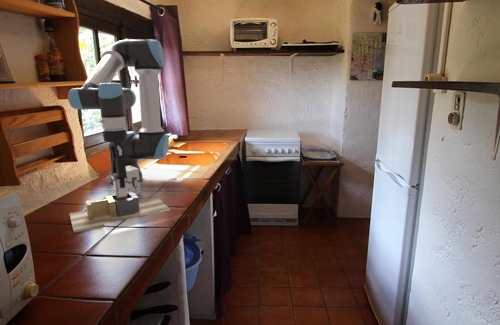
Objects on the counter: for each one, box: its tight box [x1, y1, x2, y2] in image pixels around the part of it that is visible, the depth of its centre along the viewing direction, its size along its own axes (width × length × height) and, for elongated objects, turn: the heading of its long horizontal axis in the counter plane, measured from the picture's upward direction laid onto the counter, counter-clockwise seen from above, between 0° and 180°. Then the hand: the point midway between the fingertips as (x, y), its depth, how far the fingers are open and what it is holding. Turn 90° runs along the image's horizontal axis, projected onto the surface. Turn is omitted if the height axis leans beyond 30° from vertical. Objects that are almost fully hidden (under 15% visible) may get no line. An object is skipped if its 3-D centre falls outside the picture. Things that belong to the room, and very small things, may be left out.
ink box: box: [126, 166, 141, 196], centre depth 142 cm, size 9×5×12 cm, turn 47°
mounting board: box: [69, 197, 171, 233], centre depth 123 cm, size 16×32×1 cm, turn 121°
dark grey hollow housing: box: [111, 192, 140, 217], centre depth 123 cm, size 10×8×6 cm
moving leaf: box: [85, 194, 117, 220], centre depth 119 cm, size 8×9×5 cm
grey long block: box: [111, 174, 127, 202], centre depth 122 cm, size 5×5×13 cm
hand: (120, 193), depth 122 cm, fingers open, 7 cm apart
